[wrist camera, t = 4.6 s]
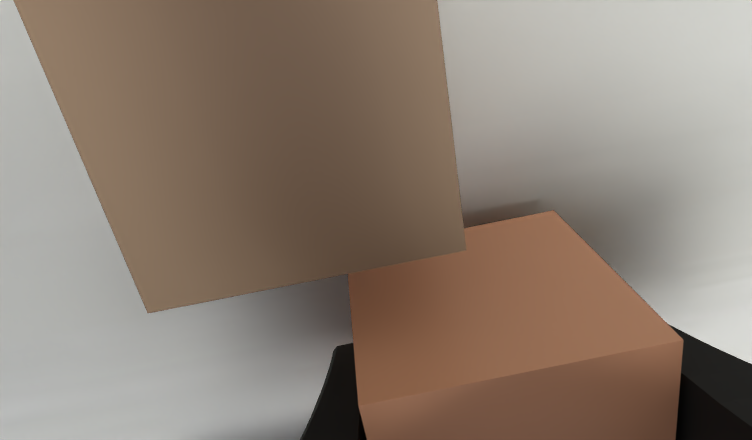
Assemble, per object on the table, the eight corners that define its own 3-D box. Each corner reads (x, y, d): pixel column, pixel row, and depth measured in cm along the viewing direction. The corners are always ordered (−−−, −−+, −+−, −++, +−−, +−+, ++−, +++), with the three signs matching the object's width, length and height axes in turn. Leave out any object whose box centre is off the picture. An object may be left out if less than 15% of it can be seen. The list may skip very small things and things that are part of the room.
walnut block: (210, 194, 13) (147, 313, 8) (135, -34, 11) (-7, -44, 6) (416, 154, 13) (466, 250, 8) (380, -81, 11) (421, -127, 6)
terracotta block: (382, 409, 15) (408, 603, 10) (346, 252, 13) (358, 406, 8) (560, 373, 15) (666, 550, 10) (553, 210, 13) (683, 339, 8)
